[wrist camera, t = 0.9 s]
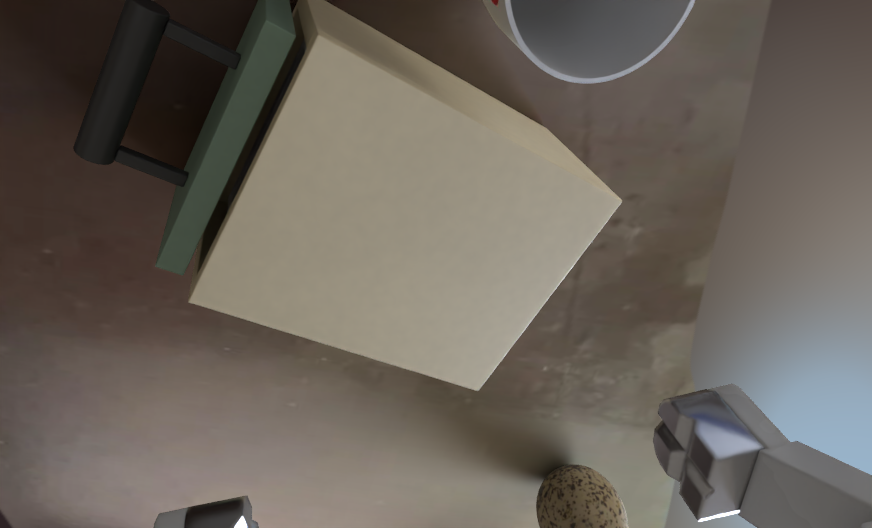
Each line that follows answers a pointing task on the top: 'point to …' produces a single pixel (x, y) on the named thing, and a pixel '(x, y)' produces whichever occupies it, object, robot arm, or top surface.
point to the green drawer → (222, 127)
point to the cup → (589, 33)
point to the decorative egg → (579, 500)
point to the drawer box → (395, 209)
